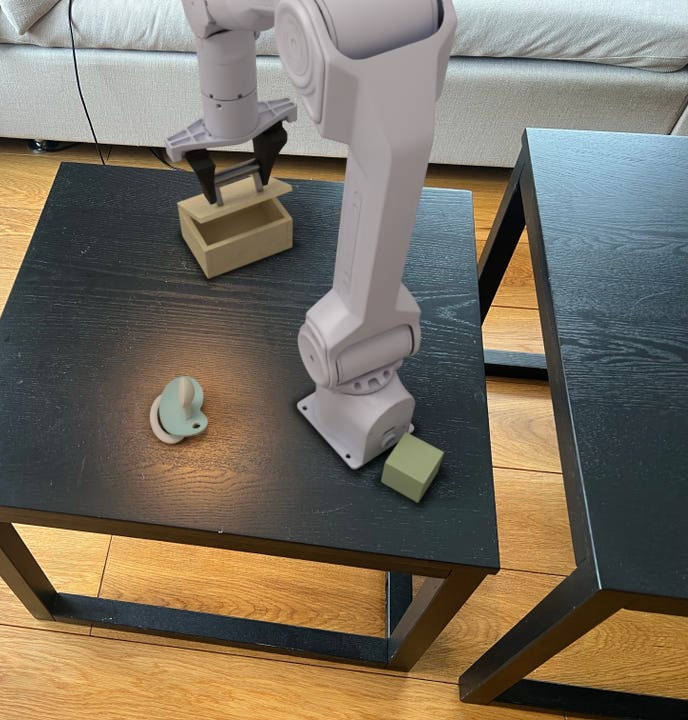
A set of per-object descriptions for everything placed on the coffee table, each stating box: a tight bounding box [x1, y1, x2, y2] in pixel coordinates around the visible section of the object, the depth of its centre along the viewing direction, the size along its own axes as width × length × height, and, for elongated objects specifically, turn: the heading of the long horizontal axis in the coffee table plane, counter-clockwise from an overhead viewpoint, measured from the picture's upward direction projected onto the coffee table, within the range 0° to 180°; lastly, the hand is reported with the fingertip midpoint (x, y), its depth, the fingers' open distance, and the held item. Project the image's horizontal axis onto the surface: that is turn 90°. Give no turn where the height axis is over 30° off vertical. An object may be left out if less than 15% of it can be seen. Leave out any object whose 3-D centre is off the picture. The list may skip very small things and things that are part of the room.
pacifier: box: [149, 375, 208, 445], centre depth 77 cm, size 7×6×6 cm
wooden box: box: [177, 196, 294, 279], centre depth 93 cm, size 8×11×5 cm
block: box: [380, 432, 445, 504], centre depth 72 cm, size 4×4×4 cm
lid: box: [176, 157, 293, 224], centre depth 88 cm, size 9×11×4 cm
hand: (236, 189), depth 86 cm, fingers closed on lid, 6 cm apart
